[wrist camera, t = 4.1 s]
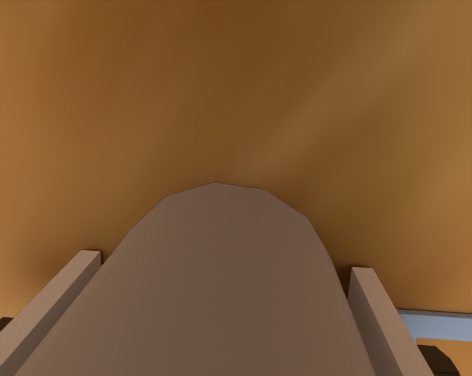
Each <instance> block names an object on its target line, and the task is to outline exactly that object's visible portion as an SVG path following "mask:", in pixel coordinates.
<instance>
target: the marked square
mask: <svg viewBox="0 0 472 376" xmlns="http://www.w3.org/2000/svg"><path fill="white" fill-rule="evenodd" d="M396 310H397V312H398V314H399V315H400V317H401V319H402V321H403V322H404V324H405V326H406V327H407V329H408V331H409V333H410V334H411V336H412V338H413V340H414V341H415V342H416V338H430V339H444V340H458V341H472V314H461V313H446V312H431V311H416V310H401V309H396Z"/></svg>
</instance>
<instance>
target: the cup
mask: <svg viewBox="0 0 472 376" xmlns="http://www.w3.org/2000/svg"><path fill="white" fill-rule="evenodd" d="M14 376H376V374H375V372H374V369H373V366H372V364H371V361H370V359H369V356H368V353H367V351H366V348H365V346H364V343H363V340H362V338H361V335H360V333H359V330H358V327H357V325H356V322H355V320H354V317H353V314H352V312H351V309H350V307H349V304H348V301H347V299H346V296H345V294H344V291H343V288H342V286H341V283H340V280H339V278H338V275H337V273H336V270H335V267H334V265H333V262H332V260H331V258H330V256H329V254H328V252H327V251H326V249H325V247H324V245H323V244H322V242H321V240H320V238H319V237H318V235H317V233H316V232H315V230H314V228H313V226H312V225H311V223H310V221H309V219H308V218H307V217H306V216H304V215H303V214H301V213H300V212H298V211H296V210H295V209H293V208H292V207H290V206H289V205H287V204H286V203H284V202H283V201H281V200H280V199H278V198H277V197H275V196H274V195H272V194H271V193H269V192H268V191H266V190H262V189H255V188H249V187H242V186H235V185H228V184H222V183H215V182H213V183H210V184H206V185H203V186H200V187H196V188H193V189H190V190H186V191H183V192H180V193H176V194H173V195H169V196H166V197H165V198H164V199H162V200H161V201H160V202H159V203H158V204H157V205H156V206H155V207H154V208H153V209H152V210H151V211H150V212H149V213H148V214H147V215H146V216H144V217H143V218H142V219H141V220H140V221H139V222H138V223H137V224H136V225H135V226H134V227H133V228H132V229H131V230H130V231H129V233H128V234H127V235H126V236H125V238H124V239H123V240H122V241H121V243H120V244H119V245H118V246H117V248H116V249H115V250H114V251H113V253H112V254H111V255H110V256H109V258H108V259H107V260H106V261H105V263H104V264H103V265H102V266H101V268H100V269H99V270H98V271H97V273H96V274H95V275H94V276H93V278H92V279H91V280H90V281H89V283H88V284H87V285H86V286H85V288H84V289H83V290H82V291H81V293H80V294H79V295H78V296H77V298H76V299H75V300H74V301H73V303H72V304H71V305H70V306H69V308H68V309H67V310H66V311H65V313H64V314H63V315H62V316H61V318H60V319H59V320H58V321H57V323H56V324H55V325H54V326H53V328H52V329H51V330H50V331H49V333H48V334H47V335H46V336H45V338H44V339H43V340H42V341H41V343H40V344H39V345H38V346H37V348H36V349H35V350H34V351H33V353H32V354H31V355H30V356H29V358H28V359H27V360H26V361H25V363H24V364H23V365H22V366H21V368H20V369H19V370H18V371H17V373H16V374H15V375H14Z"/></svg>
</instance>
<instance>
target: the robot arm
mask: <svg viewBox="0 0 472 376" xmlns="http://www.w3.org/2000/svg"><path fill="white" fill-rule="evenodd" d="M100 268H101V256H100V251H87V250H80V251H79V252H78V253H77V254H76V255H75V257H74V258H73V259H72V260H71V261H70V262H69V263H68V264H67V265H66V266H65V267H64V268H63V269H62V270H61V271H60V272H59V273H58V274H57V275H56V276H55V277H54V278H53V279H52V280H51V281H50V282H49V283H48V284H47V285H46V286H45V287H44V288H43V289H42V290H41V291H40V292H39V293H38V294H37V295H36V296H35V297H34V298H33V299H32V300H31V301H30V302H29V303H28V304H27V305H26V306H25V307H24V308H23V309H22V310H21V311H20V312H19V313H18V314H17V316H16V317H15V318H8V317H3V318H1V319H0V376H14V375H15V374H16V373H17V371H18V370H19V369H20V368H21V366H22V365H23V364H24V363H25V361H26V360H27V359H28V358H29V356H30V355H31V354H32V353H33V351H34V350H35V349H36V348H37V346H38V345H39V344H40V343H41V341H42V340H43V339H44V338H45V336H46V335H47V334H48V333H49V331H50V330H51V329H52V328H53V326H54V325H55V324H56V323H57V321H58V320H59V319H60V318H61V316H62V315H63V314H64V313H65V311H66V310H67V309H68V308H69V306H70V305H71V304H72V303H73V301H74V300H75V299H76V298H77V296H78V295H79V294H80V293H81V291H82V290H83V289H84V288H85V286H86V285H87V284H88V283H89V281H90V280H91V279H92V278H93V276H94V275H95V274H96V273H97V271H98V270H99V269H100ZM347 301H348V304H349V307H350V309H351V312H352V314H353V317H354V320H355V322H356V325H357V327H358V330H359V333H360V335H361V338H362V340H363V343H364V346H365V348H366V351H367V353H368V356H369V359H370V361H371V364H372V366H373V369H374V372H375V374H376V376H460V373H459V371H458V370H457V368H456V367H455V365H454V364H453V362H452V361H451V359H450V358H449V357H447V356H446V355H445V354H444V353H443V352H442V351H440V350H439V349H438V348H437V347H436V346H427V345H416V343H415V341H414V340H413V338H412V336H411V334H410V333H409V331H408V329H407V327H406V326H405V324H404V322H403V321H402V319H401V317H400V315H399V314H398V312H397V310H396V308H395V307H394V305H393V303H392V301H391V300H390V298H389V296H388V294H387V293H386V291H385V289H384V287H383V286H382V284H381V282H380V280H379V279H378V277H377V275H376V274H375V272H374V270H373V268H361V267H352V270H351V277H350V284H349V291H348V299H347Z"/></svg>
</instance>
